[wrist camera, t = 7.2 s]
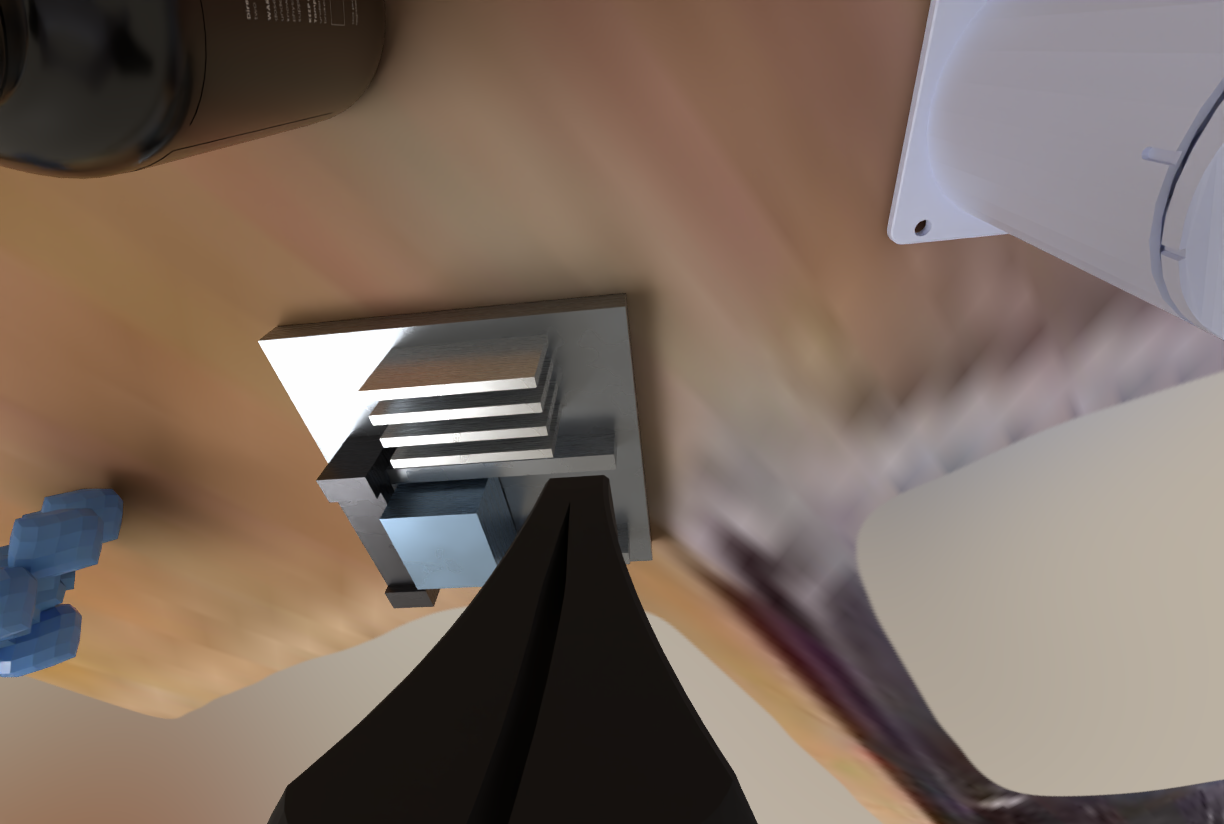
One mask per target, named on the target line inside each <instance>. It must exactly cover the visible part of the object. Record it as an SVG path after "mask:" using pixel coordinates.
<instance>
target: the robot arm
mask: <svg viewBox="0 0 1224 824" xmlns="http://www.w3.org/2000/svg"><path fill="white" fill-rule="evenodd" d="M923 220H926V225H925V227H924V228H923V229H922V230H921V231H920V232H917V233H915V227H916V225H917V224H918V223H919V222H920V221H923ZM887 234H888V236H889V238H890V239H891V240H892V241H894V242H895V243H897V244H913V243H923V242H933V241H943V240H953V239H963V238H972V237H982V236H992V235H1002V234H1011V235H1013V236H1015V237H1017V238H1019V239H1021V240H1023V241H1025V242H1027V243H1029V244H1031V245H1033V246H1035V247H1037V248H1039V249H1041V250H1043V251H1045V252H1047V253H1049V254H1051V255H1053V256H1055V257H1057V258H1059V259H1061V260H1063V261H1065V262H1067V263H1069V264H1071V265H1073V266H1075V267H1077V268H1079V269H1081V270H1083V271H1085V272H1088V273H1090V274H1092V275H1094V276H1096V277H1098V278H1100V279H1102V280H1104V281H1106V282H1108V283H1110V284H1112V285H1114V286H1116V287H1118V288H1120V289H1122V290H1124V291H1126V292H1128V293H1130V294H1132V295H1134V296H1136V297H1138V298H1140V299H1142V300H1144V301H1146V302H1148V303H1150V304H1152V305H1154V306H1156V307H1158V308H1160V309H1162V310H1164V311H1166V312H1168V313H1170V314H1172V315H1174V316H1176V317H1178V318H1180V319H1182V320H1184V321H1186V322H1188V323H1190V324H1192V325H1194V326H1197V327H1198V328H1200V329H1202V330H1204V331H1206V332H1208V333H1210V334H1212V335H1214V336H1216V337H1218V338H1219V339H1221V340H1223V341H1224V0H931V4H930V9H929V14H928V19H927V25H926V30H925V35H924V40H923V45H922V51H921V56H920V61H919V66H918V71H917V76H916V82H915V87H914V92H913V97H912V102H911V108H910V113H909V118H908V123H907V128H906V133H905V139H904V144H903V149H902V154H901V159H900V165H899V170H898V175H897V180H896V185H895V190H894V196H893V201H892V206H891V211H890V216H889V222H888V227H887ZM267 824H758V823H757V821H756V819H755V817H754V815H753V812H752V810H751V808H750V806H749V804H748V802H747V799H746V797H745V795H744V793H743V791H742V789H741V786H740V784H739V782H738V779H737V777H736V775H735V773H734V771H733V770H732V768H731V766H730V765H729V763H728V762H727V760H726V759H725V757H724V756H723V754H722V752H721V751H720V750H719V748H718V746H717V745H716V743H715V741H714V740H713V738H712V736H711V735H710V733H709V732H708V730H707V729H706V727H705V725H704V724H703V722H702V720H701V718H700V717H699V715H698V713H697V712H696V710H695V708H694V707H693V705H692V703H691V701H690V700H689V698H688V696H687V695H686V693H685V691H684V689H683V687H682V685H681V683H680V682H679V680H678V678H677V676H676V674H675V672H674V670H673V669H672V667H671V665H670V663H669V661H668V660H667V657H666V656H665V654H664V652H663V650H662V648H661V646H660V644H659V642H658V640H657V638H656V635H655V633H654V631H653V629H652V627H651V625H650V623H649V620H648V618H647V616H646V614H645V612H644V609H643V607H642V605H641V602H640V600H639V598H638V595H637V593H636V590H635V588H634V585H633V583H632V580H631V577H630V575H629V572H628V569H627V567H626V564H625V561H624V558H623V555H622V552H621V548H620V545H619V541H618V531H617V524H616V518H615V512H614V506H613V499H612V493H611V487H610V480H609V478H608V477H606V476H605V475H594V476H579V477H563V478H550V479H549V480H548V481H547V482H546V484H545V486H544V488H543V490H542V492H541V493H540V495H539V497H538V499H537V501H536V503H535V505H534V507H533V508H532V510H531V512H530V514H529V515H528V517H527V519H526V521H525V522H524V524H523V526H522V528H521V529H520V531H519V532H518V534H517V536H516V537H515V539H514V540H513V542H512V544H511V545H510V547H509V548H508V550H507V552H506V553H505V555H504V556H503V558H502V559H501V561H500V562H499V564H498V565H497V567H496V568H495V570H494V571H493V572H492V574H491V575H490V577H489V578H488V580H487V581H486V582H485V584H484V585H483V587H482V588H481V590H480V591H479V592H478V594H477V595H476V596H475V598H474V599H473V600H472V602H471V603H470V604H469V606H468V607H467V608H466V609H465V611H464V612H463V613H462V614H461V616H460V617H459V618H458V619H457V621H456V622H455V623H454V624H453V626H452V627H451V628H450V629H449V630H448V631H447V633H446V634H445V635H444V636H443V637H442V638H441V640H440V641H439V642H438V643H437V644H436V645H435V646H434V648H433V649H432V650H431V651H430V652H429V653H428V654H427V656H425V658H424V659H423V660H422V661H421V662H420V663H419V664H418V665H417V666H416V667H415V668H414V669H413V671H412V672H411V673H410V674H409V675H408V676H407V677H406V678H405V679H404V680H403V681H402V682H401V683H400V684H399V685H398V686H397V687H396V688H395V689H394V690H393V691H392V692H391V693H390V694H389V695H388V696H387V697H386V698H385V699H384V700H383V701H382V702H381V703H379V704H378V705H377V706H376V707H375V709H373V710H372V711H371V712H370V713H369V714H368V715H367V716H366V717H365V718H364V719H363V720H362V721H361V722H360V723H359V724H358V725H357V726H356V727H354V728H353V729H352V730H351V731H350V732H349V733H348V734H347V735H346V736H344V737H343V738H342V739H341V740H340V741H339V742H338V743H336V744H335V745H334V746H333V747H332V748H331V749H330V750H328V751H327V752H326V753H325V754H324V755H323V756H322V757H320V758H319V759H318V760H317V761H316V762H315V763H313V764H312V765H311V766H310V767H309V768H308V769H307V770H305V771H304V772H303V773H302V774H301V775H300V776H299V777H297V778H296V779H295V780H294V781H292V782H291V783H290V784H289V785H288V786H287V787H286V789H285V791H284V793H283V795H282V797H281V799H280V800H279V802H278V804H277V806H276V807H275V809H274V811H273V813H272V815H271V817H270V819H269V821H268V823H267Z"/></svg>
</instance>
